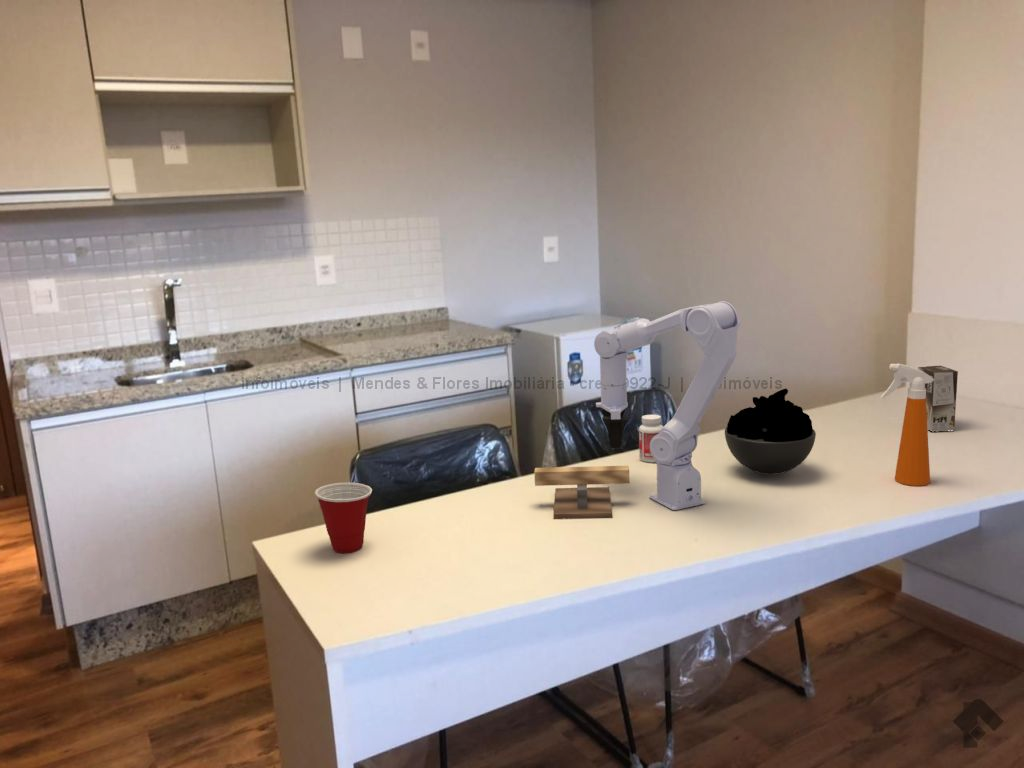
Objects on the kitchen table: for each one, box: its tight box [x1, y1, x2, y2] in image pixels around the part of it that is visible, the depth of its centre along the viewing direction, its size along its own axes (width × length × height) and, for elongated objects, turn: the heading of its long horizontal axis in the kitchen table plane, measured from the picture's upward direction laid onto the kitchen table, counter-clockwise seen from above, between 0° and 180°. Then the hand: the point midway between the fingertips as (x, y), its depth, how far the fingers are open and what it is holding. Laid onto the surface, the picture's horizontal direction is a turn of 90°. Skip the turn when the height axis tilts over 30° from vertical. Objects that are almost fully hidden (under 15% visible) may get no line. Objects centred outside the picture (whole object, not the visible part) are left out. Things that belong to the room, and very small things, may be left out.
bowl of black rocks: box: [724, 388, 817, 475], centre depth 189 cm, size 20×20×19 cm
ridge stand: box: [553, 485, 613, 520], centre depth 176 cm, size 16×12×5 cm
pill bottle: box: [638, 414, 664, 463], centre depth 204 cm, size 6×6×11 cm
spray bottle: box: [879, 363, 934, 487], centre depth 178 cm, size 7×11×26 cm, turn 78°
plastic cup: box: [314, 482, 373, 554], centre depth 159 cm, size 11×11×12 cm
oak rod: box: [534, 465, 630, 487], centre depth 175 cm, size 20×3×3 cm, turn 86°
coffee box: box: [917, 365, 959, 432], centre depth 218 cm, size 9×6×16 cm
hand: (614, 442), depth 185 cm, fingers open, 7 cm apart
